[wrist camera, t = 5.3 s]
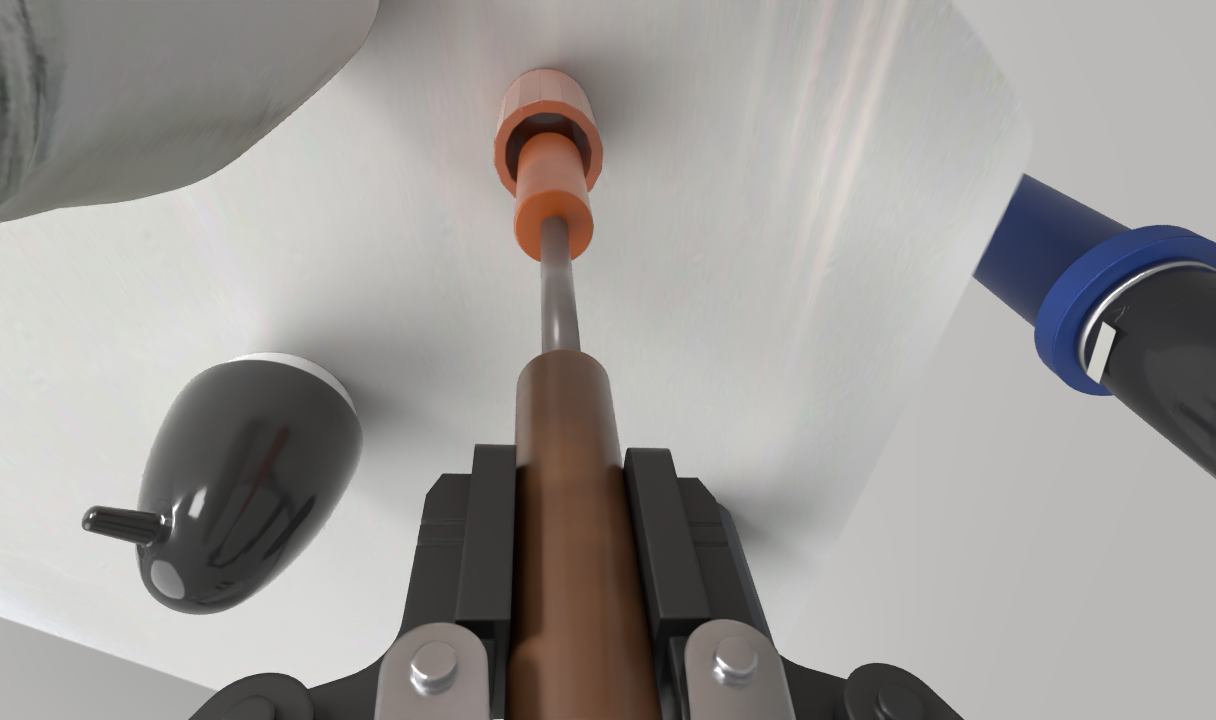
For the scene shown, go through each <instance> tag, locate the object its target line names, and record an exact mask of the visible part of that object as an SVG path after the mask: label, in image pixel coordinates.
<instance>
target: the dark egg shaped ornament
mask: <svg viewBox="0 0 1216 720" xmlns="http://www.w3.org/2000/svg"><path fill="white" fill-rule="evenodd" d="M362 445H363V438H362V431H361V427H360V424H359V421H358V418H357V414H356V410H355V407H354V405H353V402H352V400H351V398H350V396H349V394H348V393H347V391H346V390H345V388H344V387H343V386H342V384H341V383H340V382H339V381H338V380H337V379H336V378H335V377H334V376H333V375H332V374H330V373H329V372H328V371H326V370H325V369H324V368H322V367H320V366H319V365H317V364H315V363H313V362H311V361H309V360H306V359H304V358H301V357H298V356H294V355H290V354H284V353H271V352H266V353H254V354H249V355H244V356H241V357H238V358H234V359H232V360H230V361H227V362H225V363H223V364H219V365H216V366H214V367H211V368H209V369H207V370H205V371H203V372H202V373H200V374H198V375H197V376H196V377H194V378H193V379H192V380H191V381H190V382H189V383H188V384H187V385H186V386H185V387H184V388H183V389H182V391H181V392H180V393H179V395H178V396H177V397H176V399H175V401H174V402H173V404H172V405H171V407H170V409H169V411H168V413H167V414H166V416H165V419H164V421H163V423H162V425H161V427H160V429H159V431H158V434H157V436H156V438H155V440H154V443H153V445H152V448H151V451H150V454H149V456H148V459H147V463H146V466H145V470H144V473H143V477H142V482H141V487H140V492H139V497H138V504H137V511H135V510H127V509H120V508H113V507H105V506H93V507H91V508H90V509H89V510H88V511H87V512H86V513H85V514H84V516H83V519H82V527H83V529H84V530H86V531H89V532H93V533H97V534H101V535H105V536H109V537H113V538H116V539H120V540H124V541H128V542H132V543H135V553H136V560H137V565H138V569H139V573H140V576H141V579H142V581H143V583H144V585H145V587H146V589H147V590H148V592H149V593H150V594H151V595H152V596H153V597H154V598H155V599H156V600H157V601H158V602H160V603H161V604H163V605H164V606H166V607H168V608H170V609H172V610H175V611H178V612H181V613H186V614H193V615H207V614H214V613H219V612H222V611H226V610H228V609H231V608H233V607H235V606H237V605H239V604H241V603H243V602H245V601H246V600H248V599H249V598H251V597H252V596H254V595H255V594H257V593H258V592H260V591H261V590H262V589H264V588H265V587H266V586H267V585H269V584H270V583H271V582H272V581H273V580H275V579H276V578H277V577H278V576H279V575H280V574H281V573H282V572H283V571H284V570H286V569H287V568H288V567H289V566H290V565H291V564H292V563H293V562H294V561H295V560H296V559H297V558H298V557H299V555H300V554H301V553H302V552H303V551H304V550H305V549H306V548H307V547H308V546H309V544H310V543H311V542H312V541H313V540H314V538H315V537H316V536H317V535H318V533H319V532H320V531H321V529H322V528H323V527H324V525H325V524H326V523H327V521H328V520H329V518H330V517H331V515H332V514H333V512H334V510H335V509H336V507H337V506H338V504H339V502H340V500H341V499H342V497H343V495H344V493H345V491H346V489H347V488H348V486H349V484H350V482H351V480H352V478H353V476H354V474H355V471H356V469H357V466H358V463H359V460H360V456H361V452H362Z"/></svg>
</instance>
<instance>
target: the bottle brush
mask: <svg viewBox="0 0 1216 720" xmlns="http://www.w3.org/2000/svg"><path fill="white" fill-rule="evenodd" d="M593 227H594V225H593V218H592V213H591V207H590V202H589V197H588V192H587V186H586V181H585V176H584V170H583V165H582V160H581V156H580V153H579V151H578V149H577V147H576V146H575V144H574V143H573V142H572V141H571V140H569V139H568V138H567V137H565V136H563V135H561V134H557V133H542V134H539V135H536V136H534V137H532V138H531V139H530V140H528V141H527V143H526V144H525V145H524V146H523V148H522V150H521V152H520V155H519V160H518V173H517V187H516V202H515V216H514V233H515V237H516V240H517V242H518V244H519V246H520V247H521V249H522V250H523V251H524V252H525V253H526V254H527V255H528V256H530V257H531V258H533V259H535V260H537V261H539V262H541V316H542V354H541V355H539V356H537V357H536V358H534V359H533V360H532V361H530V362H529V363H528V364H527V365H526V366H525V368H524V369H523V370H522V372H521V374H520V376H519V379H518V382H517V395H516V420H515V445H517V451H516V480H515V508H514V537H513V565H512V593H511V622H510V647H509V661H508V663H507V666H506V673H505V699H504V720H663V716H662V709H661V703H660V697H659V690H658V684H657V678H656V672H655V665H654V659H653V655H652V649H651V643H650V637H649V630H648V624H647V618H646V611H645V605H644V599H643V592H642V586H641V580H640V574H639V567H638V561H637V555H636V548H635V542H634V536H633V529H632V523H631V517H630V510H629V504H628V498H627V491H626V485H625V479H624V472H623V464H622V458H621V452H620V445H619V439H618V433H617V427H616V420H615V414H614V408H613V401H612V395H611V389H610V383H609V378H608V375H607V373H606V371H605V369H604V368H603V366H602V365H601V364H600V363H599V362H598V361H597V360H595V359H594V358H593V357H591V356H590V355H588V354H585V353H583V352H581V350H580V340H579V331H578V321H577V312H576V302H575V292H574V283H573V273H572V264H571V260H573V259H575V258H577V257H578V256H579V255H581V254H582V253H583V252H584V251H585V249H586V248H587V247H588V245H589V243H590V241H591V239H592V235H593Z"/></svg>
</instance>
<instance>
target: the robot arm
mask: <svg viewBox="0 0 1216 720" xmlns="http://www.w3.org/2000/svg"><path fill="white" fill-rule="evenodd" d="M1073 350H1074V357H1075V360H1076V363H1077V364H1078V366H1079V368H1080V369H1081V370H1082V371H1083V372H1084V373H1085V374H1086V375H1088V376H1089V377H1090V378H1091V379H1093V380H1094V381H1095V382H1097V383H1098V384H1100V385H1102V386H1103V387H1105V388H1106V389H1107V390H1108V391H1110V392H1111V393H1112V394H1113V395H1114V396H1116V397H1117V398H1118V399H1119V400H1120V401H1122V402H1123V403H1124V404H1125V405H1126V406H1127V407H1129V408H1130V409H1131V410H1132V411H1133V412H1135V413H1136V414H1137V415H1138V416H1139V417H1141V418H1142V419H1143V420H1144V421H1146V422H1147V423H1148V424H1149V425H1150V426H1152V427H1153V428H1154V429H1155V430H1157V431H1158V432H1159V433H1160V434H1161V435H1163V436H1164V437H1165V438H1166V439H1168V440H1169V441H1170V442H1171V443H1172V444H1174V445H1175V446H1176V447H1177V448H1179V449H1180V450H1181V451H1182V452H1183V453H1184V454H1186V455H1187V456H1188V457H1189V458H1191V459H1192V460H1193V461H1194V462H1196V463H1197V464H1198V465H1199V466H1200V467H1202V468H1203V469H1204V470H1205V471H1206V472H1208V473H1209V474H1210V475H1211V476H1213V477H1214V478H1215V479H1216V269H1215V268H1213V267H1211V266H1209V265H1207V264H1205V263H1203V262H1201V261H1199V260H1196V259H1192V258H1185V257H1176V258H1167V259H1162V260H1158V261H1155V262H1152V263H1149V264H1146V265H1144V266H1141V267H1139V268H1137V269H1135V270H1133V271H1131V272H1130V273H1128V274H1126V275H1125V276H1123V277H1121V278H1120V279H1118V280H1117V281H1116V282H1114V283H1113V284H1112V285H1111V286H1109V287H1108V288H1107V289H1106V290H1105V291H1104V292H1103V293H1102V294H1101V295H1100V296H1099V297H1098V298H1097V299H1096V300H1095V301H1094V302H1093V303H1092V305H1091V306H1090V307H1089V309H1088V310H1087V311H1086V313H1085V315H1084V316H1083V318H1082V320H1081V322H1080V324H1079V326H1078V328H1077V331H1076V334H1075V338H1074V346H1073ZM516 451H517V445H491V444H475V449H474V458H473V467H472V474H442V475H441V476H440V478H439V479H438V480H437V482H436V483H435V484H434V485H433V487H432V488H431V489H430V491H429V492H428V493H427V494H426V498H425V504H424V509H423V514H422V519H421V525H420V530H419V535H418V543H417V546H416V551H415V557H414V562H413V567H412V572H411V578H410V583H409V588H408V594H407V599H406V604H405V609H404V615H403V620H402V624H401V628H400V631H399V633H398V635H397V637H396V639H395V641H394V642H393V644H392V645H391V647H390V648H389V649H388V650H387V651H386V652H385V654H384V655H382V656H381V657H380V658H379V659H378V660H377V661H376V662H374V663H373V664H371V665H370V666H368V667H367V668H365V669H363V670H361V671H359V672H357V673H355V674H352V675H350V676H347V677H344V678H341V679H338V680H335V681H332V682H329V683H326V684H322V685H319V686H316V687H313V688H310V689H307V688H306V687H305V686H304V685H303V684H302V683H301V682H300V681H298V680H297V679H296V678H293V677H291V676H289V675H285V674H280V673H261V674H255V675H251V676H248V677H245V678H242V679H240V680H237V681H235V682H233V683H231V684H230V685H228V686H226V687H225V688H223V689H222V690H220V691H219V692H217V693H216V694H215V695H214V696H213V697H211V698H210V699H209V700H208V701H207V702H206V703H205V704H204V705H203V706H202V707H201V708H200V709H199V710H198V711H197V712H196V713H195V714H194V715H193V716H192V717H191V718H190V719H189V720H493V719H504V699H505V673H506V666H507V663H508V661H509V647H510V622H511V593H512V565H513V537H514V508H515V480H516ZM623 472H624V479H625V485H626V491H627V498H628V504H629V510H630V517H631V523H632V529H633V536H634V542H635V548H636V555H637V561H638V567H639V574H640V580H641V586H642V592H643V599H644V605H645V611H646V618H647V624H648V630H649V637H650V643H651V649H652V655H653V659H654V665H655V672H656V678H657V684H658V690H659V697H660V703H661V709H662V716H663V720H964V719H963V718H962V717H961V716H960V715H958V714H957V713H956V712H955V711H954V710H953V709H952V708H951V707H950V706H949V705H948V704H947V703H946V702H945V701H943V700H942V699H941V698H940V697H939V696H938V695H937V694H936V693H935V692H934V691H933V690H932V689H931V688H929V687H928V686H927V685H926V684H925V683H924V682H923V681H921V680H920V679H919V678H917V677H916V676H914V675H913V674H911V673H909V672H907V671H906V670H904V669H901V668H898V667H896V666H893V665H889V664H883V663H871V664H866V665H863V666H860V667H859V668H857V669H855V670H854V671H853V672H852V673H851V674H850V676H849V677H848V679H843V678H840V677H836V676H833V675H830V674H826V673H823V672H819V671H816V670H812V669H809V668H805V667H803V666H800V665H797V664H795V663H793V662H791V661H789V660H787V659H786V658H784V657H783V656H781V655H780V654H779V653H778V651H777V649H776V648H775V647H774V645H773V644H772V643H771V642H770V640H769V639H768V638H767V637H766V636H764V635H763V634H762V633H761V632H759V631H758V630H757V629H756V627H755V625H754V622H753V620H752V617H751V613H750V610H749V607H748V604H747V600H746V597H745V594H744V591H743V587H742V584H741V581H740V578H739V574H738V571H737V568H736V565H735V561H734V558H733V555H732V552H731V548H730V547H729V546H728V539H727V535H726V532H725V529H724V527H723V526H722V523H723V522H722V519H721V516H720V512H719V509H718V506H717V503H716V499H715V498H714V497H713V495H712V494H711V493H710V492H709V491H708V490H707V488H706V487H705V486H704V485H703V484H702V482H701V481H700V480H699V479H698V478H677V475H676V471H675V468H674V464H673V460H672V456H671V452H670V450H669V449H667V448H628V449H627V451H626V455H625V461H624V468H623Z"/></svg>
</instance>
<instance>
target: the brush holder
mask: <svg viewBox="0 0 1216 720" xmlns="http://www.w3.org/2000/svg"><path fill="white" fill-rule="evenodd" d="M542 133H557V134H561V135H563V136H565V137H567V138H568V139H569V140H571V141H572V142H573V143H574V144H575V146H576V147H577V149H578V151H579V153H580V156H581V160H582V165H583V170H584V176H585V181H586V186H587V192H589V191H591V189H592V188H593V186H594V184H595V182H596V181H597V179H598V177H599V175H600V173H601V170H602V160H603V147H602V144H601V140H600V137H599V134H598V130H597V127H596V123H595V120H594V117H593V113H592V110H591V107H590V104H589V100H588V97H587V95H586V94H585V92H584V90H583V89H582V88H581V86H580V85H579V84H578V83H577V82H576V81H575V80H574V79H573V78H571V77H570V76H568V75H567V74H564V73H562V72H560V71H557V70H552V69H537V70H533V71H530V72H527V73H525V74H523V75H522V76H520V77H519V78H517V79H516V80H515V81H514V82H513V83H512V84H511V85H510V87H509V88H508V90H507V91H506V93H505V95H504V98H503V101H502V103H501V107H500V112H499V117H498V123H497V129H496V135H495V141H494V165H495V168H496V170H497V173H498V175H499V178H500V180H501V182H502V184H503V185H504V186H505V187H506V189H507V190H508V191H509V192H510V193H511V194H512V195H513V196H514V197H515V198H516V187H517V173H518V160H519V155H520V152H521V150H522V148H523V146H524V145H525V144H526V143H527V141H528V140H530V139H531V138H532V137H534V136H536V135H539V134H542Z"/></svg>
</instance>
